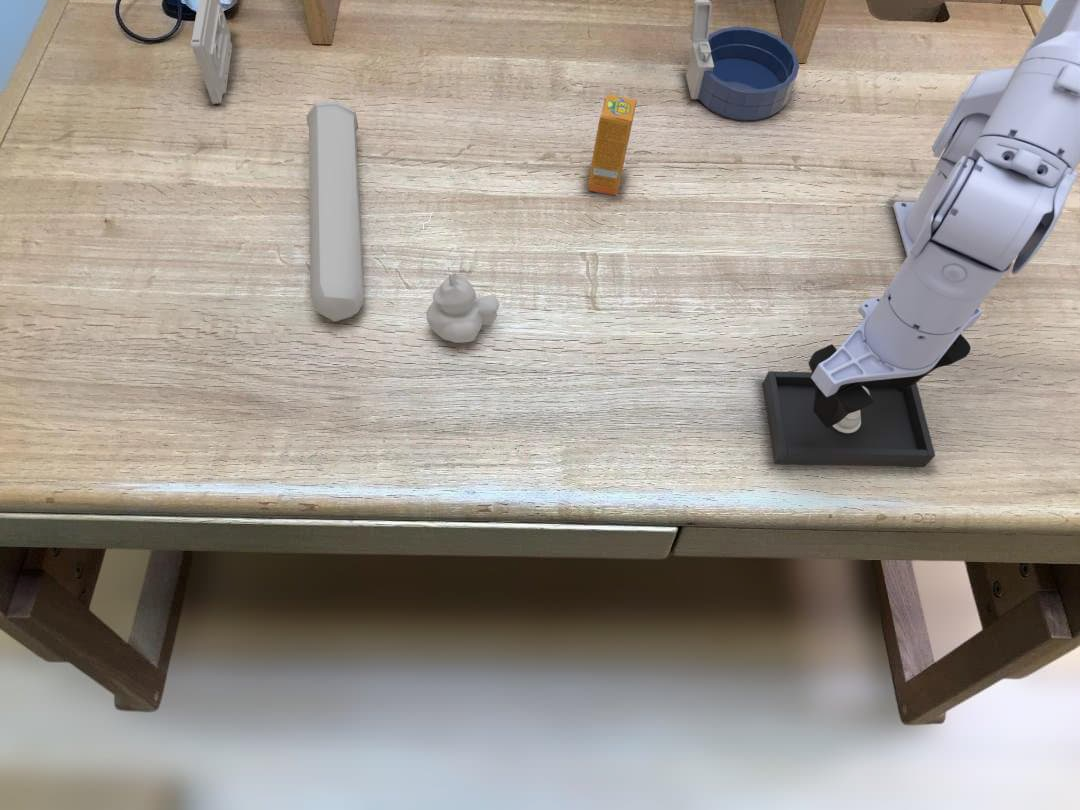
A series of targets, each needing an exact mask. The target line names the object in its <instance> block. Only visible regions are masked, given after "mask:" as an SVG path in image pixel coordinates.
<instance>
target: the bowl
mask: <svg viewBox="0 0 1080 810" xmlns="http://www.w3.org/2000/svg"><path fill="white" fill-rule="evenodd" d="M708 42H709V45H710V49H711V56H712V60H713V64H714V69H713V73H711V72H710V71H704V74H703V79H702V83H701V87H700V91H699V95H698V98H699V99H698V100H699V101H700V102H701V104H703V106H705V108H707V109H708V110H710V111H711V112H712V113H715V114H717V115H719V116H721V117H724V118H727V119H731V120H736V121H746V122H747V121H750V122H751V121H758V120H759V121H760V120H763V119H766V118H769V117H771V116H773V115H775V114H776V113H779V112H780V111H781V110H782V109H783V108H784V107H785V106H786V104H788V102H789V100H790V97H791V94H792V91H793V88H794V85H795V82H796V79H797V76H798V73H799V69H800V63H799V58H798V55H797V53H796V51H795V50H794V49H793V48H792V46H791V45H790V44H789V43H788V42H786V41H785V40H784V39H783V38H781V37H780V36H778V35H776V34H775V33H772V32H769V31H768V30H765V29H761V28H756V27H752V26H737V25H736V26H729V27H724V28H720V29H718V30H716V31H713V32H711V33H709V38H708Z"/></svg>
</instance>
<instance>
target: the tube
mask: <svg viewBox="0 0 1080 810" xmlns="http://www.w3.org/2000/svg"><path fill="white" fill-rule="evenodd" d="M305 118H306V123H307V127H308V153H309V154H308V177H309V178H308V179H309V180H308V181H309V186H308V187H309V189H308V190H309V272H310V273H309V277H310V278H309V279H310V281H309V284H310V285H309V287H310V291H309V292H310V299H311V302H312V305H313V308H314V309H315V311H317V313H319V315H321V316H323V317H325V318H327V319H329V320H331V321H332V322H335V323H336V322H338V321H343V320H345V319H349V318H352V317H353V316H355V315H356V314H357V313H359V311H360V310H361V309H362V307H363V305H364V303H365V287H364V267H363V266H364V265H363V264H364V263H363V249H362V248H363V246H362V245H363V243H362V225H361V203H360V202H361V200H360V184H359V183H360V182H359V181H360V180H359V162H358V161H359V158H358V157H359V156H358V138H357V131H358V130H359V122H358V121H359V120H358V116H357V111H356V109H355V108H353V107H351V106H349V105H346V104H344V103H342V102H340V101H338V100H328V101H315V103H314V104H313V105H312V107H311V109H310V110H309V111H308V113H307V114H306V116H305Z"/></svg>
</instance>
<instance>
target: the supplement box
mask: <svg viewBox="0 0 1080 810" xmlns="http://www.w3.org/2000/svg"><path fill="white" fill-rule="evenodd" d="M637 103H638V101H637V100H635V99H632V98H628V97H624V96H619V95H615V94H608V93H607V94H605V98H604V102H603V107H602V111H601V113H600V116H599V119H598V124H597V131H596V136H595V141H594V147H593V153H592V160H591V165H590V172H589V178H588V184H587V185H588V186H587V189H588V191H589V192H594V193H600V194H604V195H605V194H606V195H611V196H617V195H618V193H619V190H620V185H621V182H622V174H623V171H624V165H625V161H626V160H625V159H626V156H627V155H626V154H627V149H628V145H629V140H630V135H631V131H632V126H633V121H634V117H635V112H636V107H637Z"/></svg>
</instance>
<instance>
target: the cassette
mask: <svg viewBox="0 0 1080 810" xmlns="http://www.w3.org/2000/svg"><path fill="white" fill-rule="evenodd" d="M231 37H232V35H231V32H230V27H229V24H228V22H227V18H226V15H225V12H224V9H223V6H222V2H221V0H198V3H197V8H196V14H195V20H194V26H193V31H192V36H191V42H190V45H191V49H192V51H193V54H194V57H195V59H196V62H197V65H198V68H199V70H200V73H201V76H202V79H203V82H204V84H205V87H206V90H207V92H208V95H209V98H210V101H211V103H212V104H213V105H214V104H222V100H223V95H224V94H226V93H227V87H228V82H229V81H228V80H229V74H230V66H231V59H232V52H233V44H232V42H231Z"/></svg>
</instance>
